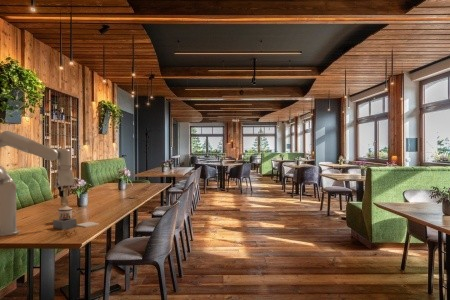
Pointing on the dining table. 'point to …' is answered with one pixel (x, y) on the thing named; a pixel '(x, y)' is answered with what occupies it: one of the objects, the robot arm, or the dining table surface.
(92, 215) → the dining table surface
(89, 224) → the tile
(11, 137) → the robot arm
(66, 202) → the peg
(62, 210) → the teacup with lid
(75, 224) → the eye block
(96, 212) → the dining table surface
